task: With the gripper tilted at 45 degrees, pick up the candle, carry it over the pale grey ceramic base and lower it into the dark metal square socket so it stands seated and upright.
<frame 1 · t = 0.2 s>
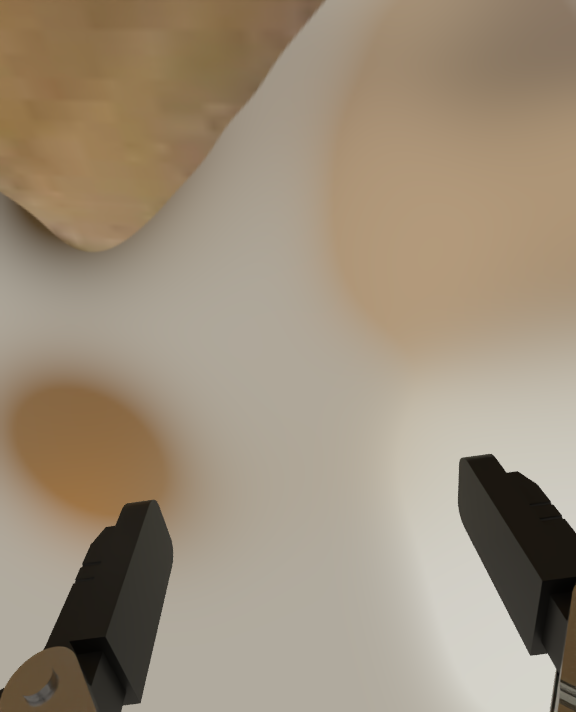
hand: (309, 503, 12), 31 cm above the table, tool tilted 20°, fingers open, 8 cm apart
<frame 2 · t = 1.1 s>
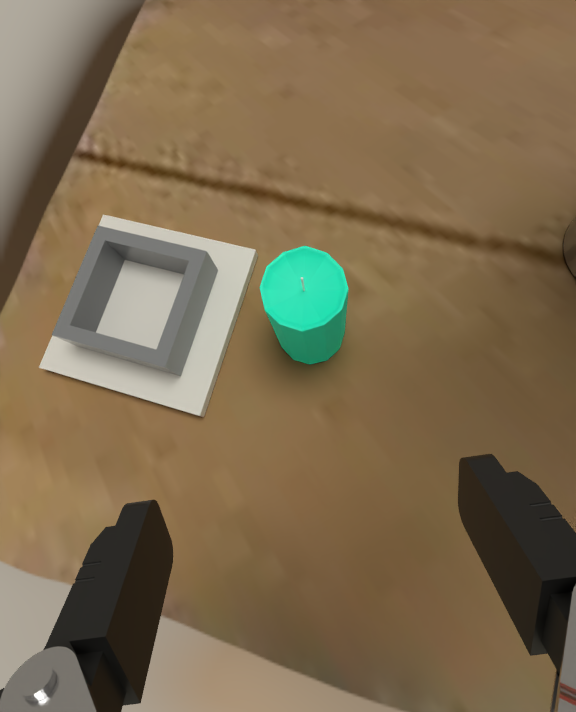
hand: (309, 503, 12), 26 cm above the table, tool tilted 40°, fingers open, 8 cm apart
candle holder: (153, 312, 42), on the table
candle: (311, 332, 40), on the table
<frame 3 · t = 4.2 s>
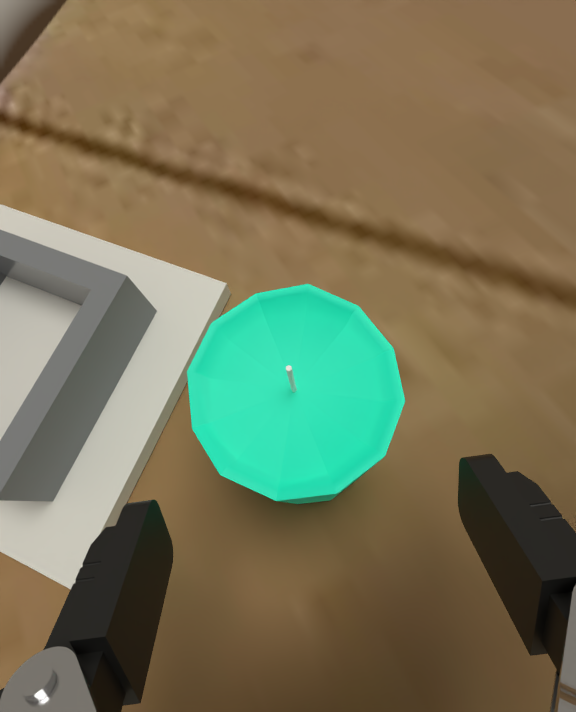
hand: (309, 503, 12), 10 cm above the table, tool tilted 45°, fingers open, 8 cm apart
candle holder: (38, 370, 24), on the table
candle: (306, 441, 22), on the table
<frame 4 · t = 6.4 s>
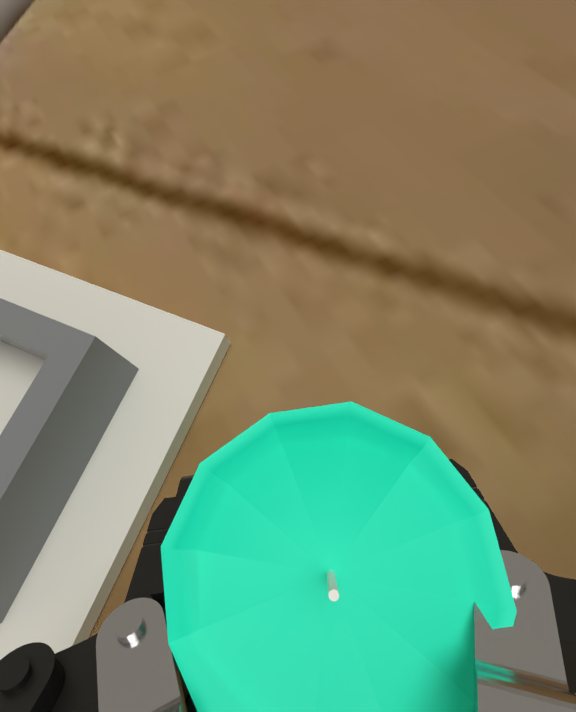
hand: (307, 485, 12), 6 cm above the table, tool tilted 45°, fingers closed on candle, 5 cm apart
candle: (325, 538, 17), on the table, touching gripper
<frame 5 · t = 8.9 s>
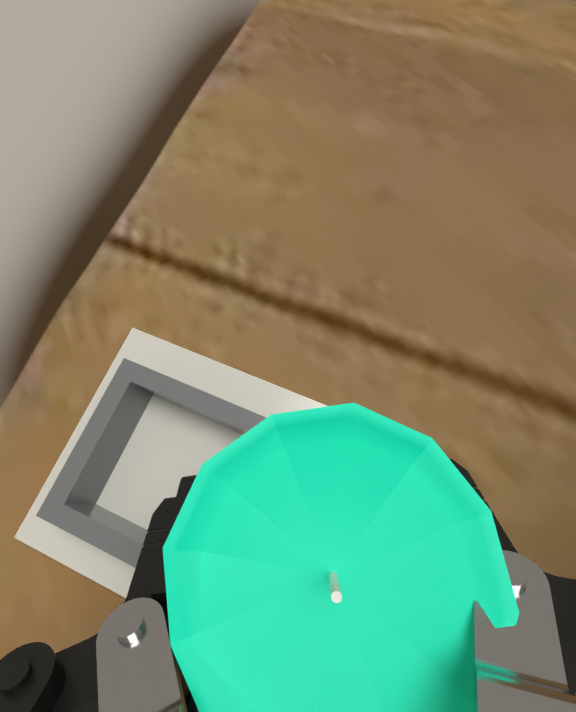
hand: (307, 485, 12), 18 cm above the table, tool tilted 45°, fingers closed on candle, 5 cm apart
candle holder: (181, 472, 31), on the table
candle: (326, 538, 17), point 12 cm above the table, touching gripper
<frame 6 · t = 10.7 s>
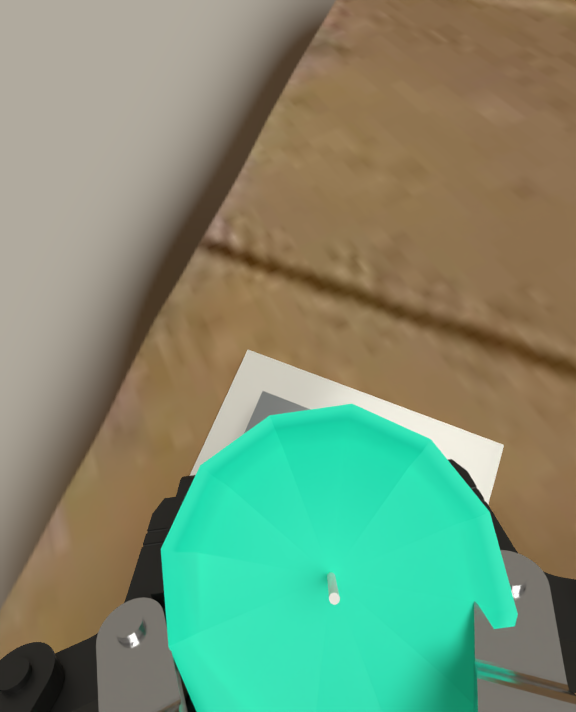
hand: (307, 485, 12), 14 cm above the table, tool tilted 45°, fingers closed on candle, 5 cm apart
candle holder: (320, 525, 25), on the table
candle: (325, 539, 17), point 8 cm above the table, touching gripper
when the fingers open (8 cm above the table, at t = 12.9 s): candle drops 1 cm, resting on candle holder.
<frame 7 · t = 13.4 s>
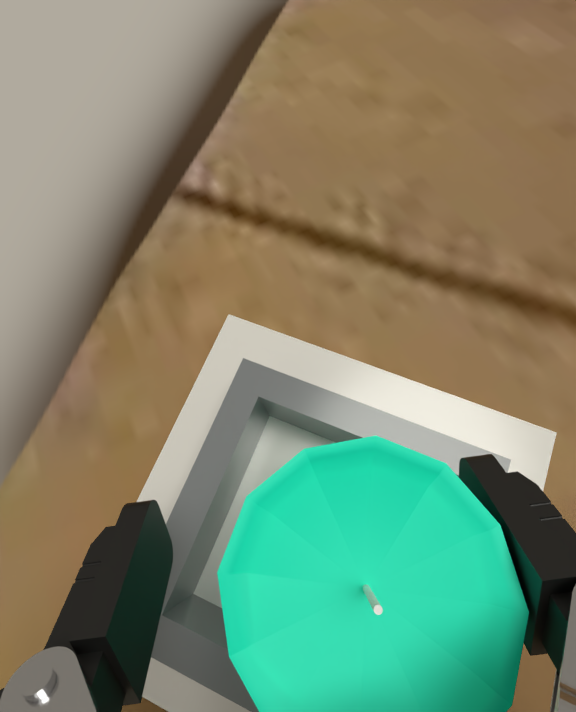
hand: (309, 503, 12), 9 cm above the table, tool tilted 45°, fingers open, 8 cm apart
candle holder: (319, 536, 20), on the table
candle: (343, 546, 19), point 1 cm above the table, touching candle holder
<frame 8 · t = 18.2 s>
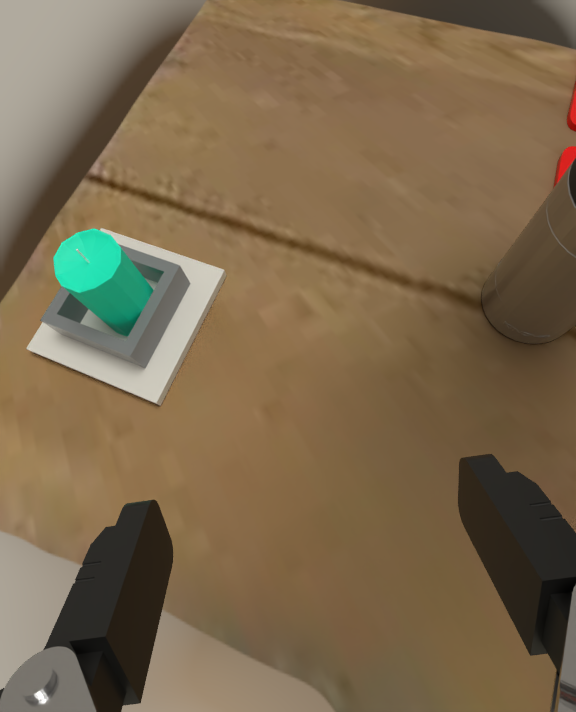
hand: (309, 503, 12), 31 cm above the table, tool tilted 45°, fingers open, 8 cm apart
candle holder: (131, 313, 48), on the table
candle: (136, 312, 47), point 1 cm above the table, touching candle holder
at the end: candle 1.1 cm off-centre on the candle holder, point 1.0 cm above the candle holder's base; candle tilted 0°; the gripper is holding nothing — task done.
